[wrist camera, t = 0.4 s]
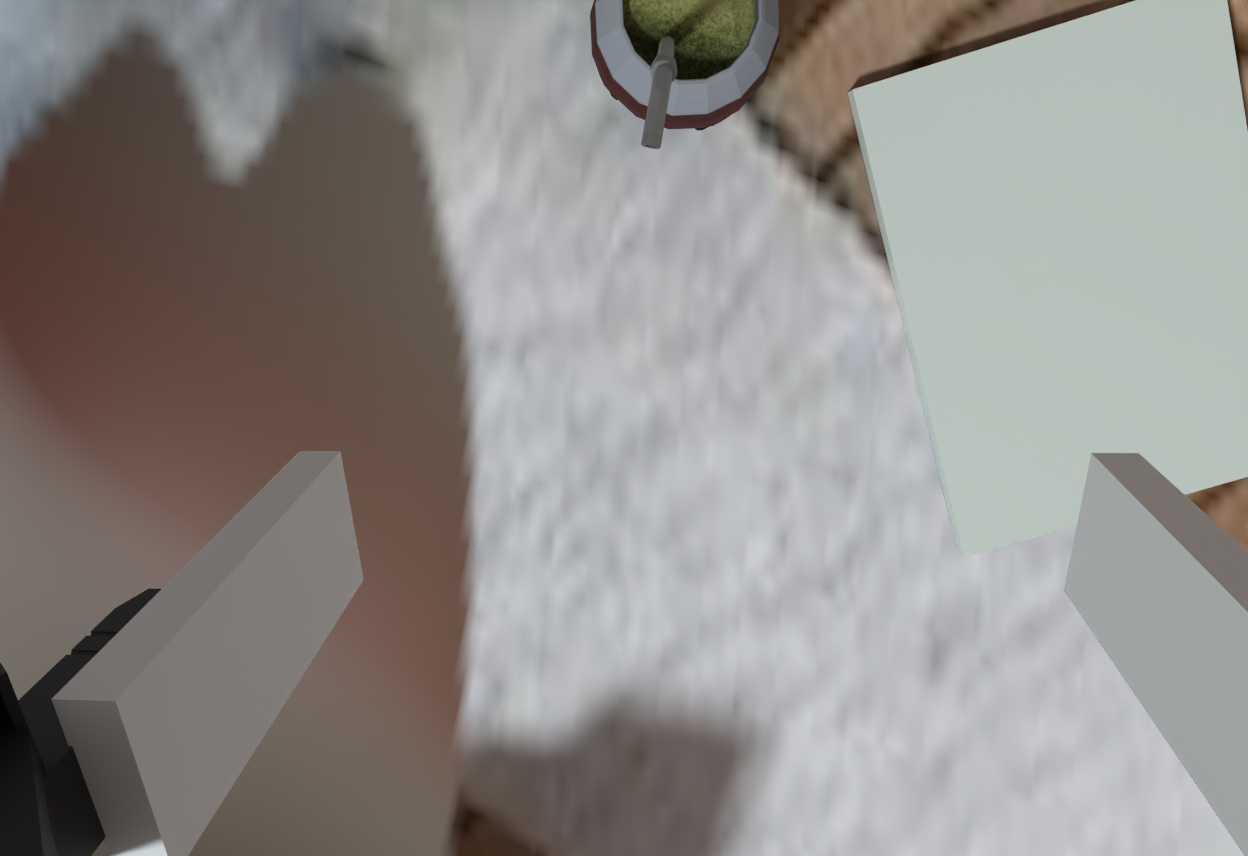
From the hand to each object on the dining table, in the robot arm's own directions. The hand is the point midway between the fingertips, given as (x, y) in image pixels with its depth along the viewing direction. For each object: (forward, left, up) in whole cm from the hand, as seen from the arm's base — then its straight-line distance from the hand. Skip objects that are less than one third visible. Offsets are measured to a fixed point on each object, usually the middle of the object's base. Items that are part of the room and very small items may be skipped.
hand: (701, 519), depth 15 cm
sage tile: (+2, +20, -25) cm, 32 cm away
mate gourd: (-12, +5, -25) cm, 28 cm away
